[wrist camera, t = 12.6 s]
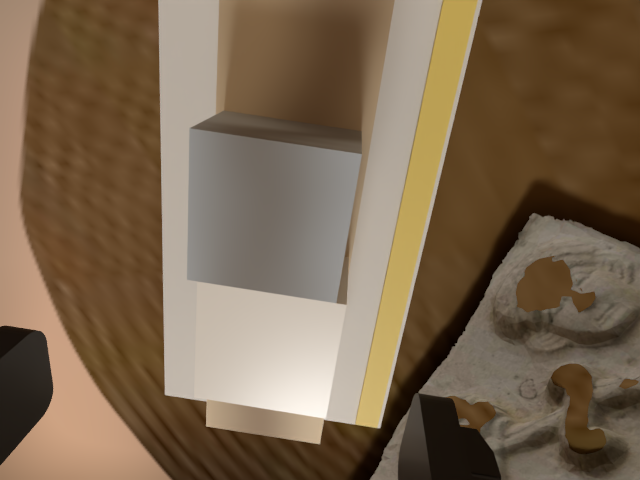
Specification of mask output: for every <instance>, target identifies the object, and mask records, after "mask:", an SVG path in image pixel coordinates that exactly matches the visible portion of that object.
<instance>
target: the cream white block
mask: <svg viewBox="0 0 640 480" xmlns="http://www.w3.org/2000/svg"><path fill="white" fill-rule="evenodd" d="M348 269H349V257H344V262H343V267H342V273H341V279H340V285H339V291H338V297H337V302H336V303H331V302H325V301H318V300H312V299H306V298H299V297H293V296H287V295H280V294H274V293H267V292H261V291H255V290H248V289H242V288H236V287H229V286H223V285H216V284H210V283H204V282H197V305H196V342H195V379H194V397H195V398H201V399H208V400H214V401H220V402H226V403H232V404H238V405H245V406H251V407H257V408H263V409H269V410H275V411H281V412H288V413H294V414H300V415H306V416H312V417H318V418H325V419H326V415H327V410H328V404H329V399H330V393H331V388H332V382H333V377H334V371H335V366H336V361H337V355H338V350H339V344H340V339H341V333H342V328H343V322H344V317H345V311H346V306H347V289H348Z"/></svg>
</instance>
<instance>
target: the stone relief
mask: <svg viewBox="0 0 640 480" xmlns="http://www.w3.org/2000/svg"><path fill="white" fill-rule="evenodd" d="M529 218H530V219H529V220H528V222H527V223H526V225H525V227H524V228H523V231H521V232H519V236H518V238H519V240H517V241H516V242H515V246H514V247H513V248H512V249H511V250H510V251H509V252H508V253H507V256H506V257H505V259H504V260H502V262H503V264H500V265H499V267H498V268H497V270H496V271H495V273H494V274H493V275H492V277H493V278H492V280H491V281H490V285H489V287H488V288H487V290H486V292H485V294H484V295H485V297H484V298H483V300H482V301H480V305H479V307H478V308H477V310H476V312H475V313H474V315H473V316H472V317H471V320H470V321H469V323H468V324H467V326H466V328H465V329H466V330H465V331H463V335H461V336H460V337H459V339H458V342H457V343H456V344H455V345H456V346H455V347H454V346H453V347H452V349H451V351H450V354H449V355H448V356H447V358H446V359H445V361H442V364H441V365H440V366H439V367H437V370H435V372H434V373H433V374H432V376H431V377H430V379H428V382H427V383H426V384H425V385H424V386H423V388H422V389H420V390H419V392H418V393H420V394H426V395H433V396H439V397H448V396H457V397H459V398H461V399H466V401H467V402H468V403H469V404H474V403H476V402H479V401H483V402H486V401H488V402H489V403H490V404H491V405H493V407H494V409H495V411H496V415H495V417H494V418H493V419H492V420H490V421H489V422H487V423H486V424H485V425H484V426H483V427H482V428H480V429H481V431H480V434H481V436H482V437H483V438H484V440H485V441H486V442H487V444H488V445H489V446H490V448H491V449H492V450H493V452H494V455H495V458H496V461H497V464H498V467H499V471H500V474H501V480H640V248H639V247H636V246H634V245H632V244H630V243H628V242H620V241H619V240H617V239H614V238H612V237H610V236H607V235H605V234H602V233H600V232H598V231H596V230H594V229H592V227H591V228H589V227H586V226H584V225H582V224H580V223H578V222H575V221H574V223H573V222H572V220H569V221H565V219H563V221H561V220H558V219H556V220H554V217H552V216H549V215H548V216H544V217H542V216H540V215H538V214H535V213H533V214H532V216H529ZM549 256H555V257H553V258H552V261H558V260H564V261H565V263H566V264H567V266H568V267H569V268H570V271H571V277H572V281H573V286H572V288H571V290H574V291H577V292H579V293H587V292H593V291H595V296H596V299H595V300H594V302H593V304H592V305H591V306H590V307H588V308H587V309H585V310H584V311H582V312H580V313H578V311H577V309H576V307H575V306H574V304H573V302H572V297H562V298H561V302H560V307H558V308H553V309H546V310H543V311H538V310H535V311H532V312H528V313H527V312H525V311H524V310H523V309H521V308H518V307H516V306H517V304H518V303H517V298H516V287H517V283H518V282H519V281H520V280H521V279H522V278H523V277H524V270H525V269H526V267H527V266H529V265H530V264H531V263H533V262H534V261H536V260H537V259H540V258H544V257H549ZM576 279H577V282H576ZM579 288H582V291H583V292H582V291H581V290H580V289H579ZM569 363H577V364H580V365H582V366H583V367H585V368H586V369H587V371H588V372H589V373H590V375H591V376H592V385H593V394H592V399H591V401H590V403H589V408H588V419H589V422H588V425H587V427H588V428H589V429H590V430H593V429H596V428H600V429H602V430H603V431H604V433H605V437H606V440H607V442H606V445H605V446H604V447H603V448H602V449H601V450H599V451H597V452H594V453H589V454H578V453H576V452H574V451H572V450H571V449H570V448H569V445H568V440H567V439H566V438H565V418H566V414H567V409H568V406H569V402H570V397H569V396H568V395H567V393H566V390H565V389H564V388H562V387H559V386H556V385H554V384H553V382H552V379H551V378H550V377H551V375H552V374H553V372H554V371H555V370H556V369H557V368H559V367H560V366H562V365H565V364H569ZM626 378H628V379H632V380H633V379H635V380H638V381H639V383H638V384H637V385H635V386H632V387H630V388H627V389H623V388H620V387H619V385H620V384H621V383H622V381H623V380H624V379H626ZM409 411H410V408H409V410H408V412H407V414H406V415H405V416H403V418H402V420H401V421H400V423H399V424H398V426H397V428H396V430H395V432H394V434H393V437H392V439H391V440H390V442H389V443H388V444H387V447H386V448H384V449H385V450H384V451H383V452H384V453H383V455H382V460H381V462H380V463H379V466H378V468H377V469H376V471H375V474H373V476H372V477H371V479H370V480H398V459H399V451H400V446H401V442H402V438H403V434H404V430H405V426H406V423H407V419H408V415H409ZM459 424H461V425H468V424H469V423H468V421H467V420H466V419H459Z"/></svg>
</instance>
